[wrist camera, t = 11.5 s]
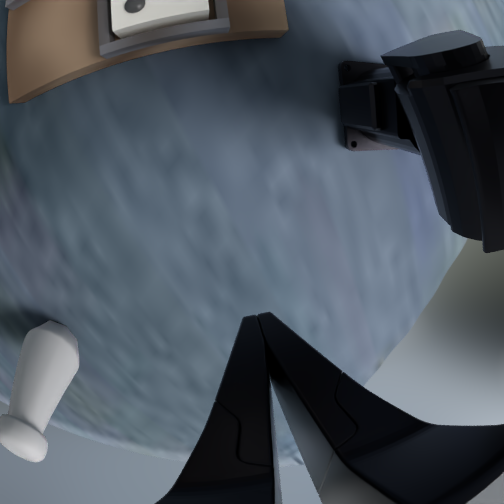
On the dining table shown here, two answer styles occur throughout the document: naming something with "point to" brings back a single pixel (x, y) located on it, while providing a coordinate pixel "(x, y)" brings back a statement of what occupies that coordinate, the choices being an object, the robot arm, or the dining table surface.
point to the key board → (112, 38)
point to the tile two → (154, 14)
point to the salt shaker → (38, 388)
